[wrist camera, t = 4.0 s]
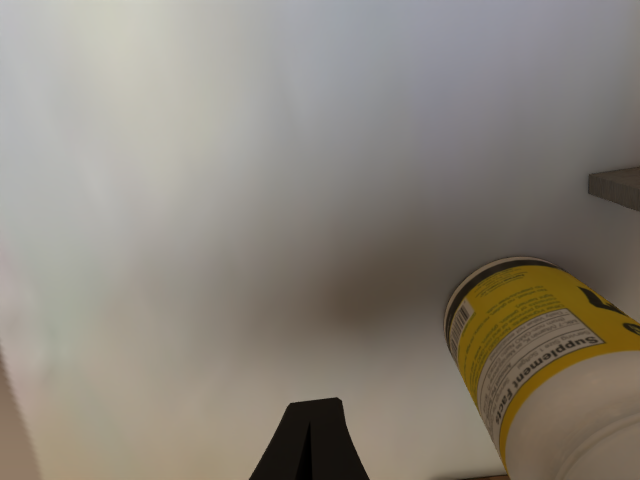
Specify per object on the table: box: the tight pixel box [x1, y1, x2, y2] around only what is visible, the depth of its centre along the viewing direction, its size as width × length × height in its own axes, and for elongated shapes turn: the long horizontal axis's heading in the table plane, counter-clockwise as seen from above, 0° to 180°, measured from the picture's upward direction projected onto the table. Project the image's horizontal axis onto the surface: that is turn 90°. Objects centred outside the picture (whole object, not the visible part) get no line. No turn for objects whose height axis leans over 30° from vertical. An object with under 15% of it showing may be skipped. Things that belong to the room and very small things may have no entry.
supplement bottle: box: [444, 257, 640, 480], centre depth 11 cm, size 5×5×8 cm
